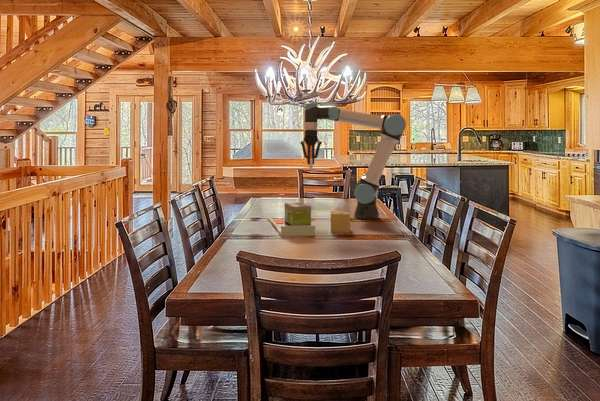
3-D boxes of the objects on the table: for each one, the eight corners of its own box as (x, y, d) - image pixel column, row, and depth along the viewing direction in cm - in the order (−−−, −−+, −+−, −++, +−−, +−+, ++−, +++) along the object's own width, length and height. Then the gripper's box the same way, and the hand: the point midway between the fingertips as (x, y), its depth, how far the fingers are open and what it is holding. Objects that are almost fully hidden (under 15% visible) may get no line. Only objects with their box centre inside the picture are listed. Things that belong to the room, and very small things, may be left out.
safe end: (309, 230, 270) (309, 221, 270) (315, 235, 257) (315, 225, 257) (277, 231, 267) (277, 222, 267) (281, 236, 254) (281, 226, 254)
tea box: (284, 230, 271) (284, 202, 269) (302, 229, 274) (302, 201, 272) (292, 235, 257) (292, 206, 255) (311, 234, 260) (311, 205, 258)
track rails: (296, 219, 308) (296, 216, 307) (309, 230, 270) (309, 227, 270) (268, 220, 304) (268, 217, 304) (277, 231, 267) (277, 228, 267)
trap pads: (293, 219, 306) (293, 219, 306) (297, 223, 294) (297, 222, 293) (271, 220, 304) (271, 219, 304) (274, 223, 291) (274, 223, 291)
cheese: (350, 229, 274) (350, 211, 273) (350, 233, 264) (350, 213, 262) (330, 229, 275) (330, 210, 274) (329, 232, 265) (329, 213, 263)
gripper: (320, 129, 308) (320, 169, 310) (298, 129, 305) (298, 169, 308) (323, 129, 300) (322, 170, 303) (301, 129, 298) (301, 170, 301)
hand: (310, 169), depth 306 cm, fingers closed
